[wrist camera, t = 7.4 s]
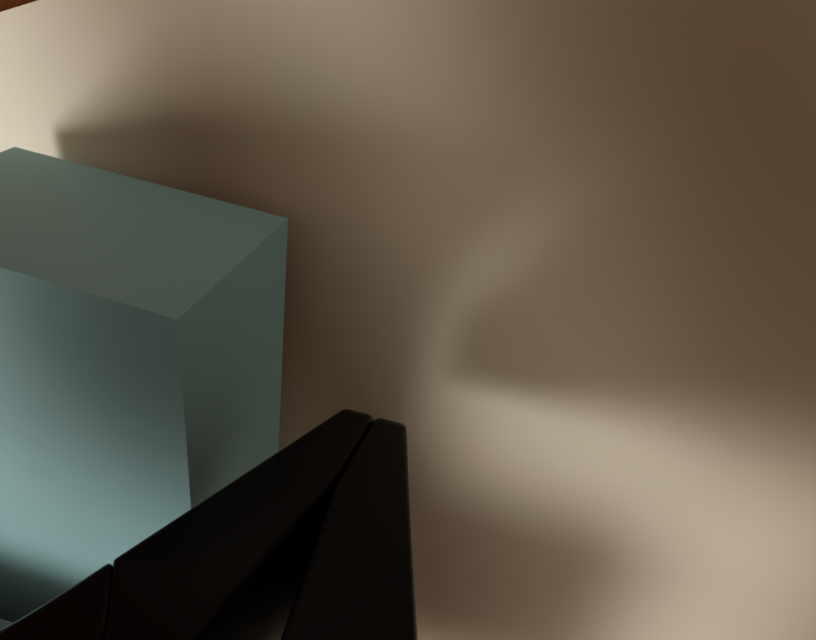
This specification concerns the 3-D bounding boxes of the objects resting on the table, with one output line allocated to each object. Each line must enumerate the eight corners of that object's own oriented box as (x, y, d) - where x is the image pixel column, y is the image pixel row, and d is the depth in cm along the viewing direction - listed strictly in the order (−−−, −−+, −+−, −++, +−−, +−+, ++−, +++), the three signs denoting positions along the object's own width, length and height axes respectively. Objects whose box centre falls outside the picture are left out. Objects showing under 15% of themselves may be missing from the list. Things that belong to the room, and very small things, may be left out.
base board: (183, 779, 24) (164, 817, 23) (-301, 112, 13) (-379, 130, 12) (968, 955, 16) (991, 1026, 15) (1556, -454, 5) (1813, -553, 4)
